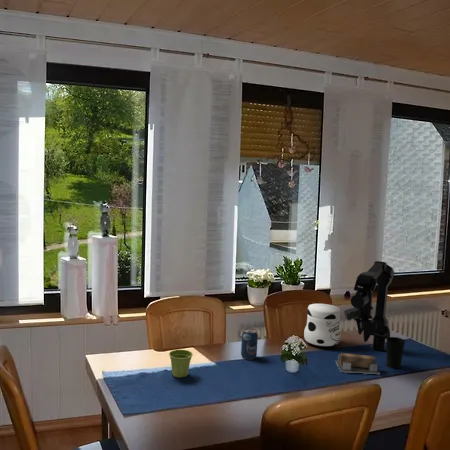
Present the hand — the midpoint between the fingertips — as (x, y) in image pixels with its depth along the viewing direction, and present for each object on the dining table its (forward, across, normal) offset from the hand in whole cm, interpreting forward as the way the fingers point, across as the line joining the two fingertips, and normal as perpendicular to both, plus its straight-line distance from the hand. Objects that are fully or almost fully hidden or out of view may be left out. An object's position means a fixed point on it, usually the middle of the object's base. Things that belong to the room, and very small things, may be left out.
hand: (362, 337), depth 222 cm
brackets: (+12, +6, -3) cm, 13 cm away
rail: (+10, +6, -3) cm, 12 cm away
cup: (+12, +1, +14) cm, 18 cm away
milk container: (+12, -24, -13) cm, 30 cm away
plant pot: (+10, +22, -77) cm, 81 cm away
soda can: (+11, -1, -49) cm, 50 cm away
